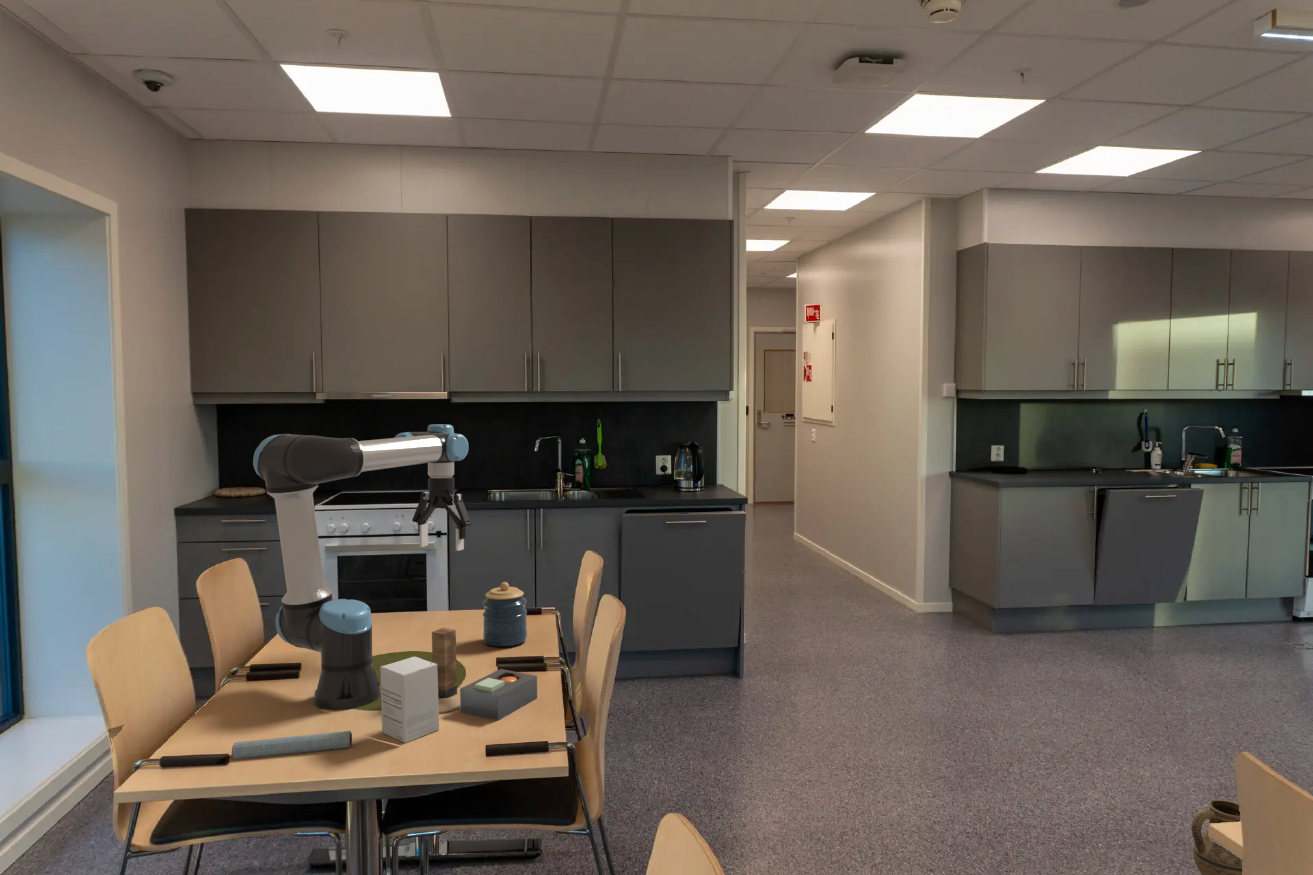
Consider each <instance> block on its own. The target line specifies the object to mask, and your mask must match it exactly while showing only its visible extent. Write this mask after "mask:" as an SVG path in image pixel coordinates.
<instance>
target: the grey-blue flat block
mask: <svg viewBox="0 0 1313 875" xmlns="http://www.w3.org/2000/svg"><path fill="white" fill-rule="evenodd" d="M352 743H353V733H352V731H351V730H345V731H344V730H343V731H336V732H325V733H315V734H307V735H306V734H305V735H297V736H285V737H276V738H274V737H273V738H265V739H256V740H245V741H237V742H234V743H233V744H232V748H231V757H232V760H242V759H254V758H260V757H261V758H262V757H273V756H280V755H281V756H282V755H283V756H284V755H292V754H293V755H294V754H301V753H311V752H312V751H313V752H319V751H321V750H323V751H331V749H333V750H340V749H350V748H351V746H352ZM321 752H322V751H321Z"/></svg>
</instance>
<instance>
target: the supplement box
mask: <svg viewBox="0 0 1313 875" xmlns="http://www.w3.org/2000/svg"><path fill="white" fill-rule="evenodd" d="M379 668H380V670H379V671H380V672H379V673H380V688H381V695H380V698H381V699H380V700H381V701H380V703H381V727H382V729H381V730H382V731H381V732H382V734H384V735H387V736H389V737H391V738H393V739H395V740H397V741H399V742H402V743H405V744H406V743H409V742H411V741H414V740H417V739H418V738H421V737H424V736H427V735H429V734H431V733H433V732H437V731H438V730H440V714H439V706H438V699H439V698H438V676H437V664H435V663H432V661H428V660H425V659H423V658H421V657H417V656H411V657H408V658H405V659H401V660H399V661H396V662H392V663H389V664H385V665H381V666H380V667H379Z"/></svg>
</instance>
